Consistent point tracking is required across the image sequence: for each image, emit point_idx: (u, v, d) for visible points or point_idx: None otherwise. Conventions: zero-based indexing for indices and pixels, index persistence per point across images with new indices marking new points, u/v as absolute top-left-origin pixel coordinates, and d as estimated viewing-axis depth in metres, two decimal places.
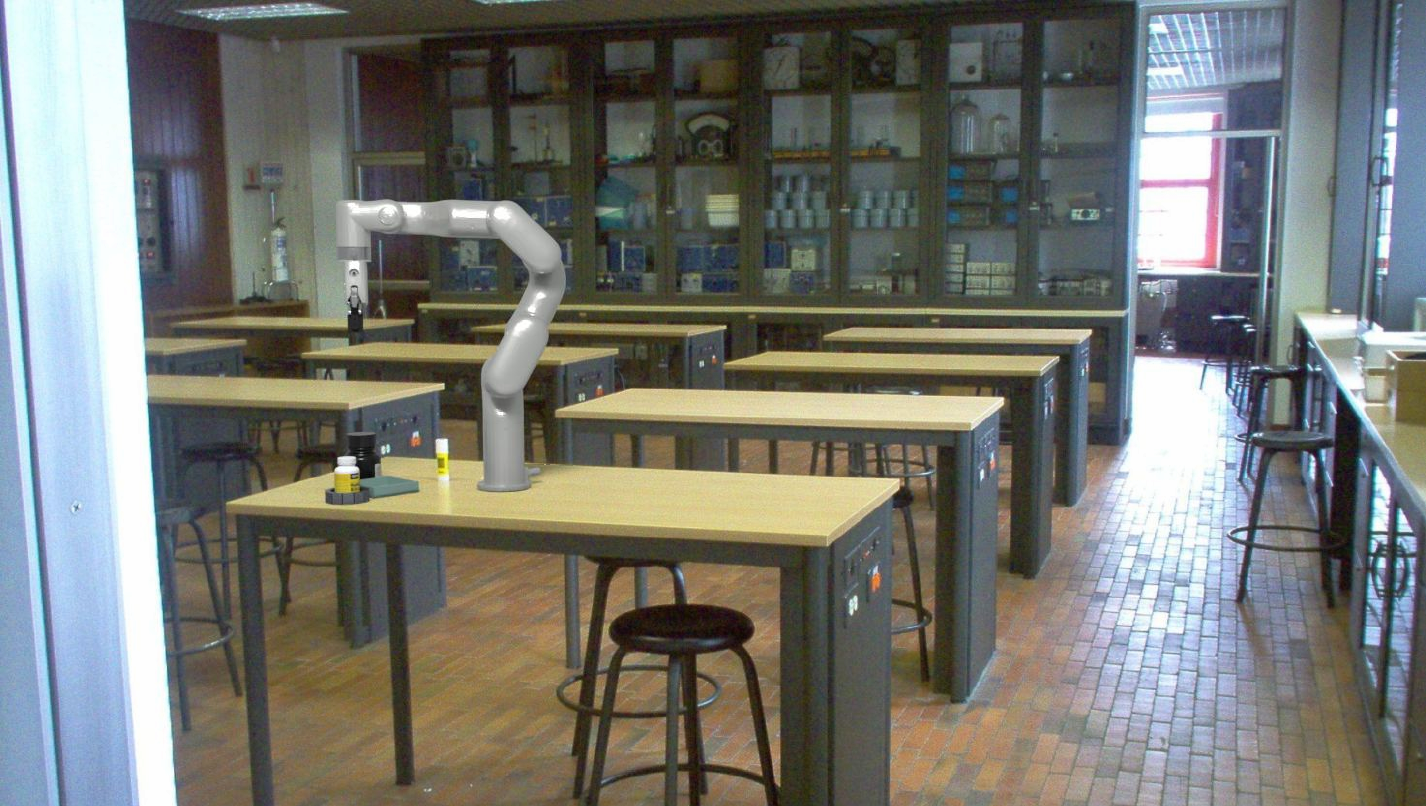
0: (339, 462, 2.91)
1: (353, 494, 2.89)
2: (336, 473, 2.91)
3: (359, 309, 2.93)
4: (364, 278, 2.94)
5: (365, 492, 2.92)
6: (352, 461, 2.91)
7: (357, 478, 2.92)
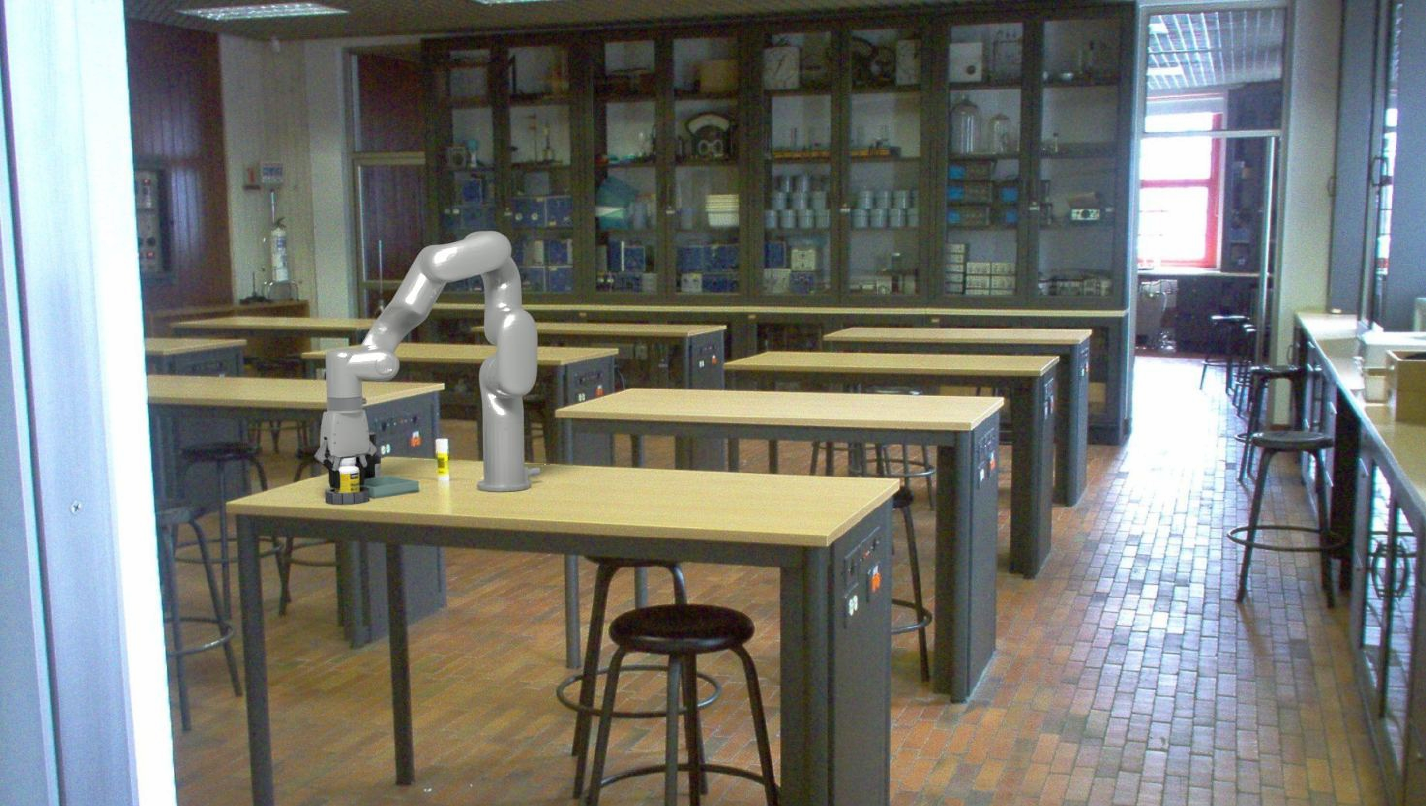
0: (339, 462, 2.91)
1: (353, 494, 2.89)
2: None
3: None
4: None
5: (365, 492, 2.92)
6: (351, 461, 2.91)
7: (357, 478, 2.92)
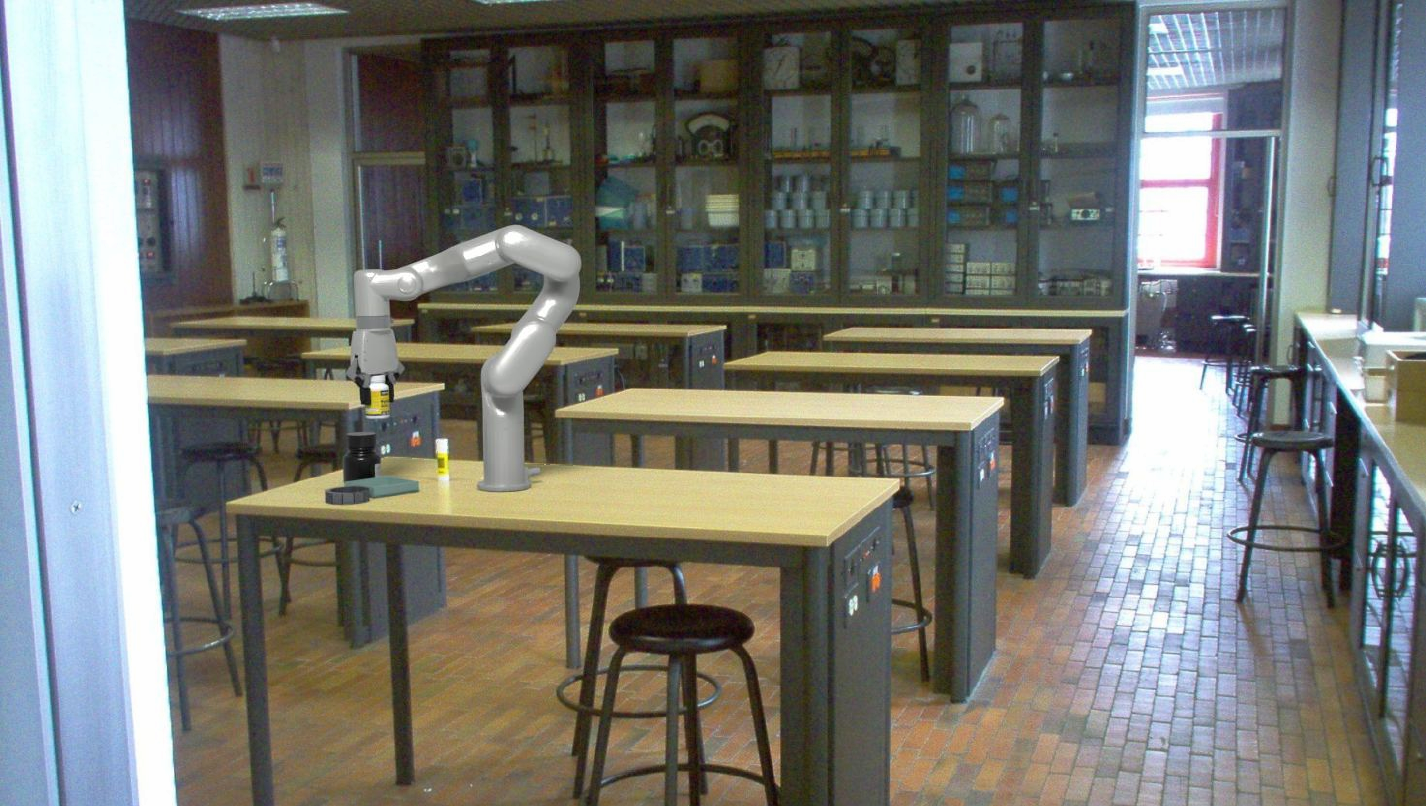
0: None
1: (353, 494, 2.89)
2: None
3: None
4: None
5: (365, 492, 2.92)
6: (381, 378, 2.99)
7: (387, 395, 3.00)
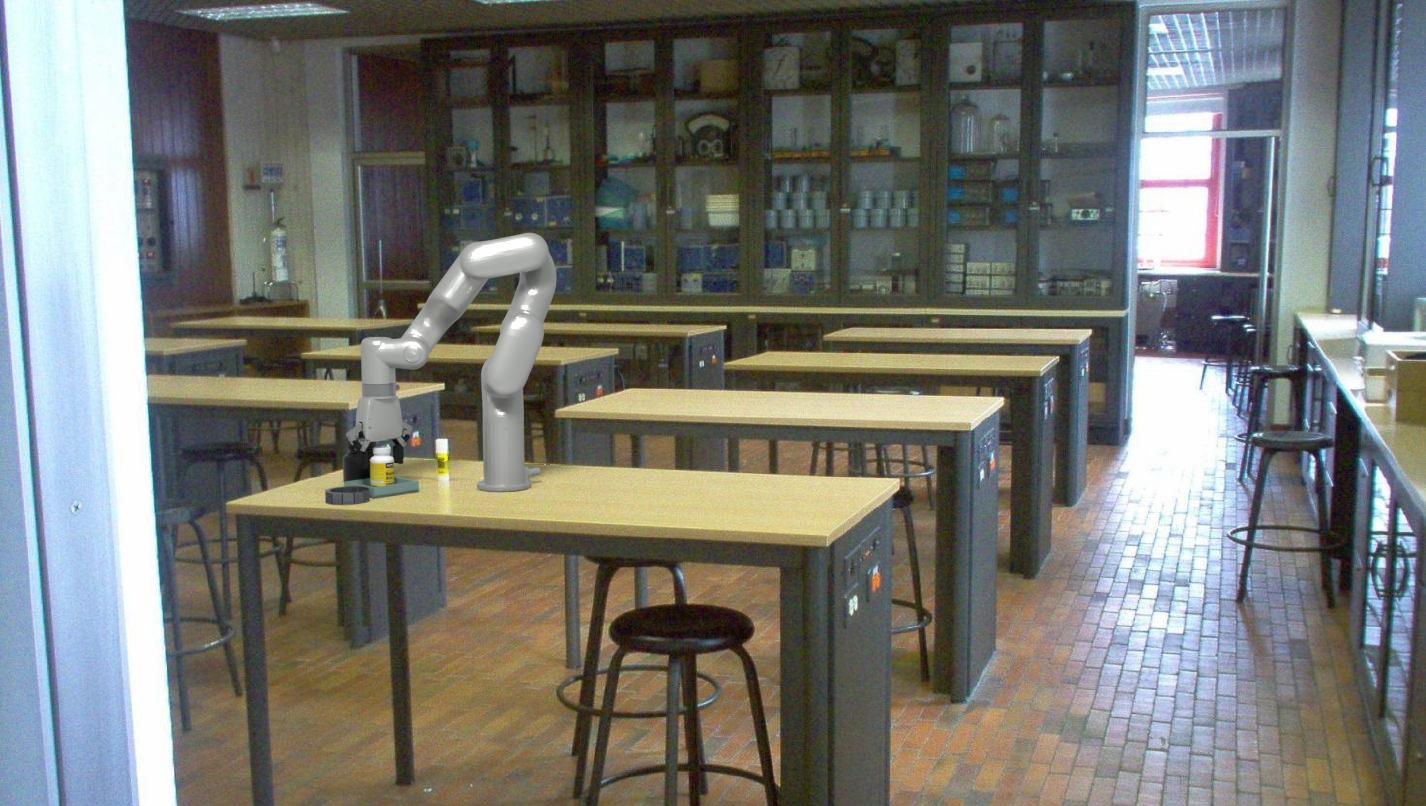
0: (375, 452, 3.02)
1: (353, 494, 2.89)
2: (372, 462, 3.02)
3: None
4: None
5: (365, 492, 2.92)
6: (387, 451, 3.03)
7: (392, 467, 3.03)
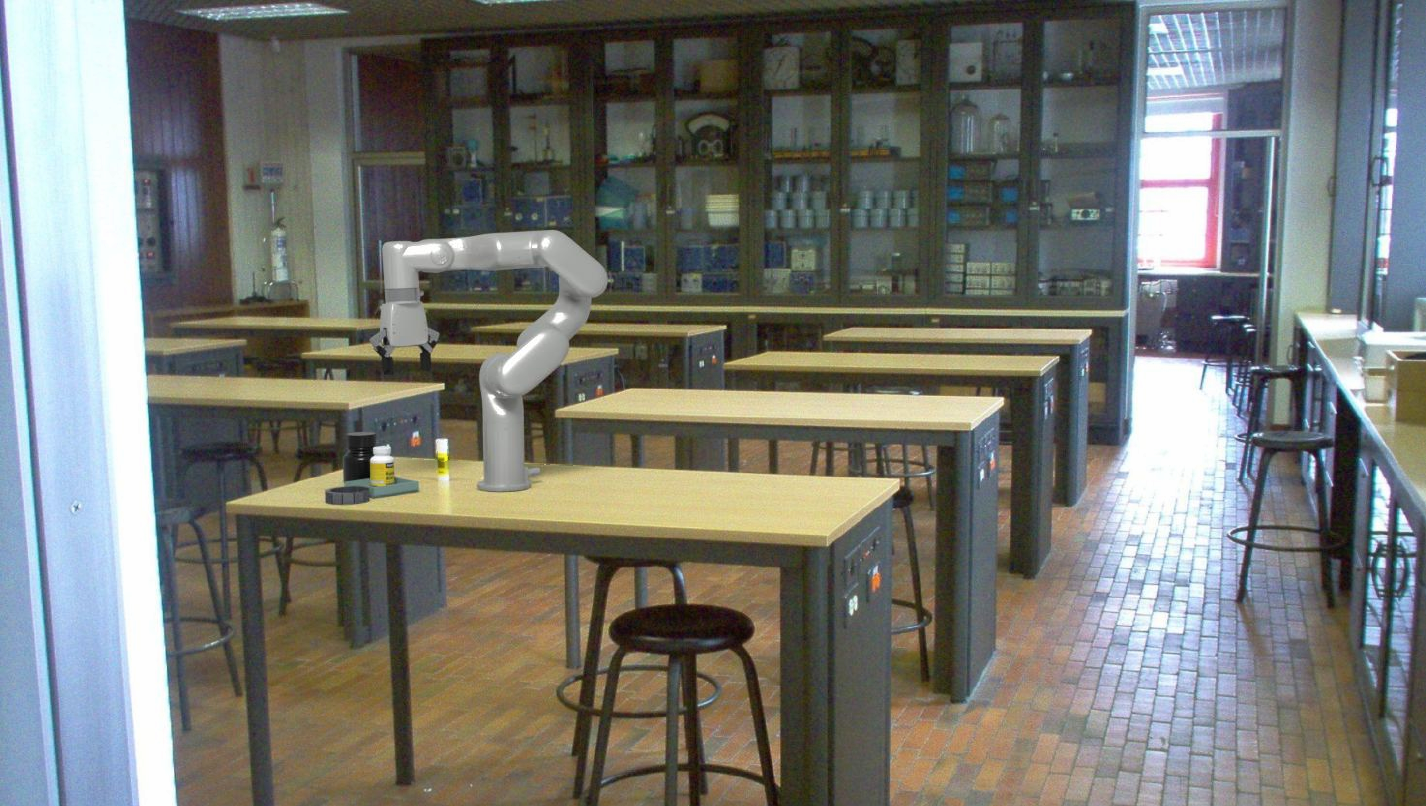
0: (375, 452, 3.02)
1: (353, 494, 2.89)
2: (372, 462, 3.02)
3: None
4: None
5: (365, 492, 2.92)
6: (387, 451, 3.03)
7: (392, 467, 3.03)
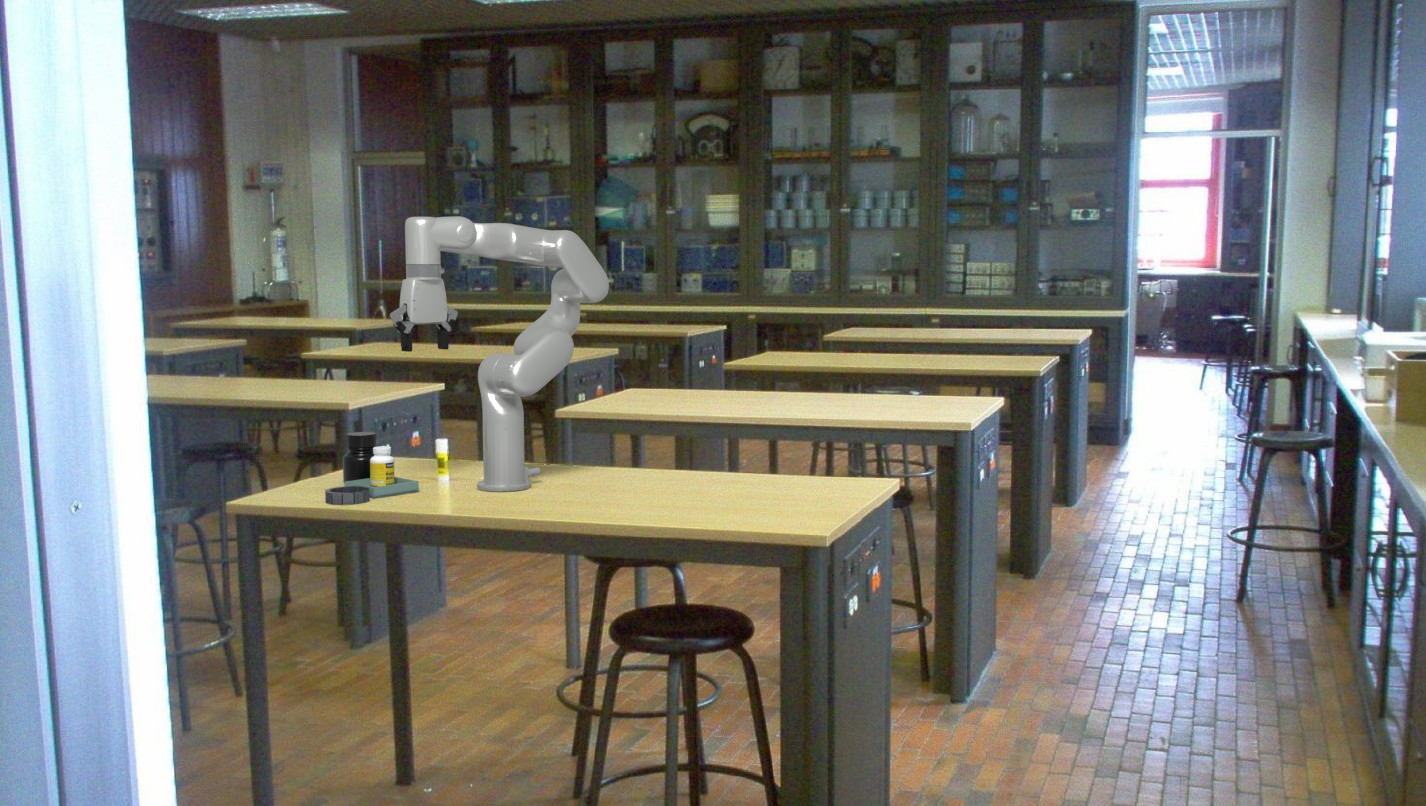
0: (375, 452, 3.02)
1: (353, 494, 2.89)
2: (372, 462, 3.02)
3: None
4: None
5: (365, 492, 2.92)
6: (387, 451, 3.03)
7: (392, 467, 3.03)
